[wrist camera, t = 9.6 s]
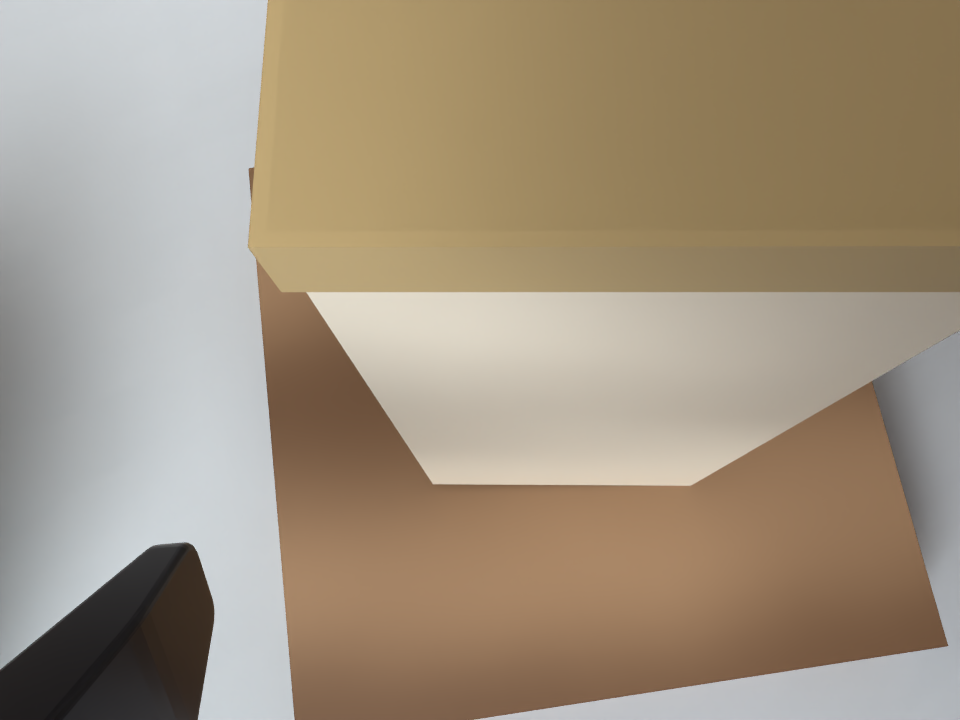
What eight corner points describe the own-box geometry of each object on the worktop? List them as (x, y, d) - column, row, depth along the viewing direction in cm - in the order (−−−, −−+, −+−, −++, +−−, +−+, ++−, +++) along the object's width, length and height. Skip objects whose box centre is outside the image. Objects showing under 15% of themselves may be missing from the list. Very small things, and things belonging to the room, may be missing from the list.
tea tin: (696, 490, 17) (1156, 245, 5) (427, 489, 17) (247, 247, 5) (684, 262, 18) (1030, -379, 6) (432, 262, 18) (296, -364, 6)
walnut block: (885, 642, 19) (947, 646, 16) (333, 727, 19) (297, 747, 16) (752, 147, 22) (784, 78, 19) (285, 225, 23) (248, 168, 20)
